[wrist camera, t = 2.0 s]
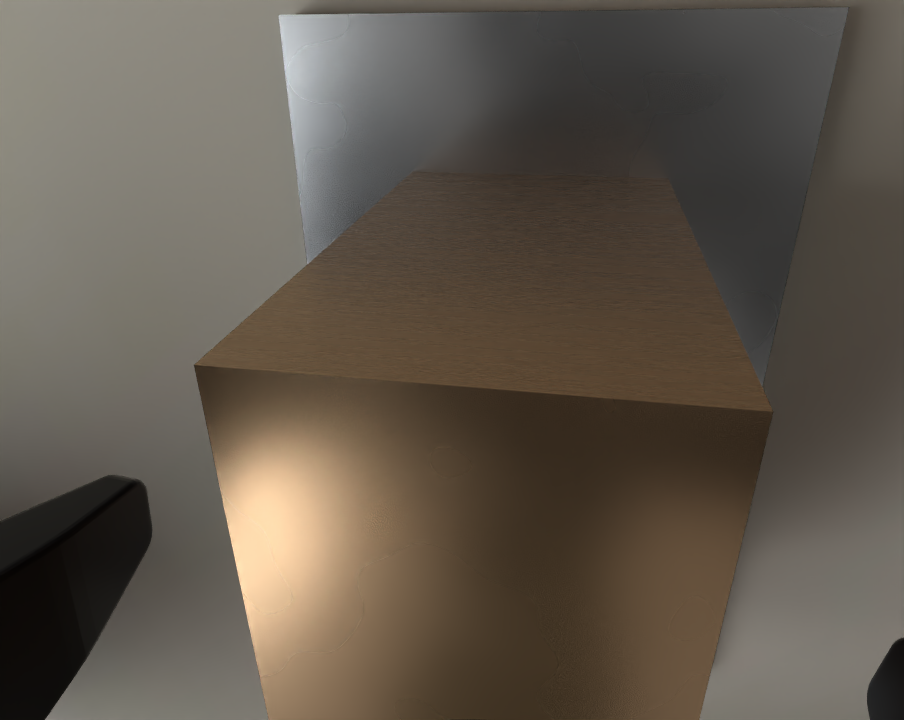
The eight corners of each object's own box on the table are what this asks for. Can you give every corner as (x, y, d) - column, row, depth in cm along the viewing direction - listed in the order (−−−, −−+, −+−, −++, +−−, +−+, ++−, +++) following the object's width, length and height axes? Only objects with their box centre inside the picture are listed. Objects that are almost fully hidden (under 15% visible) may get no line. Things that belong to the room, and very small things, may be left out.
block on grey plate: (687, 661, 14) (756, 1143, 8) (362, 615, 15) (212, 1005, 9) (828, 7, 8) (1376, -4, 3) (301, 13, 10) (-167, 19, 4)
